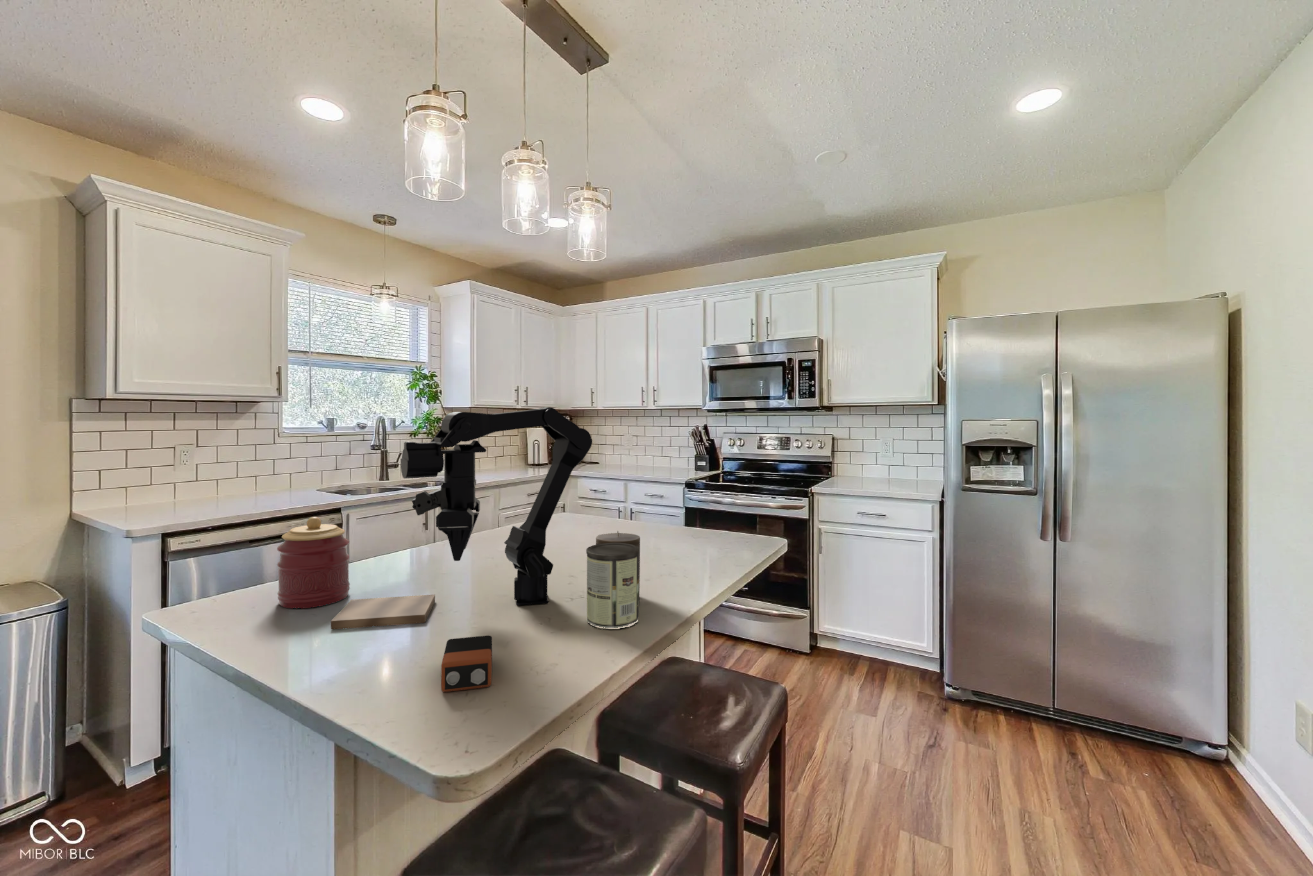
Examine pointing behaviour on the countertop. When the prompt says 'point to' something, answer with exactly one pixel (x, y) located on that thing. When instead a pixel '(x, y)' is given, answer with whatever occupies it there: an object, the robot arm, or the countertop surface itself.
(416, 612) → the walnut cutting board
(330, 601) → the canister
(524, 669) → the countertop surface
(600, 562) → the coffee can
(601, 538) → the pillar candle
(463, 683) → the battery
